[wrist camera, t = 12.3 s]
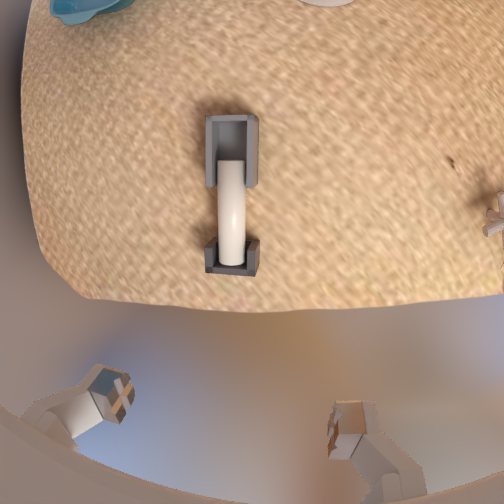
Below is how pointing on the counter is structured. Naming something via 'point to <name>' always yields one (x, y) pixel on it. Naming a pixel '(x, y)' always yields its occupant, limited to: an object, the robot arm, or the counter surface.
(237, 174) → the slip tube
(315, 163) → the counter surface
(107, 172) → the counter surface
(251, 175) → the sleeve
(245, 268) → the socket
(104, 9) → the casserole dish
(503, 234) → the pipe connector
